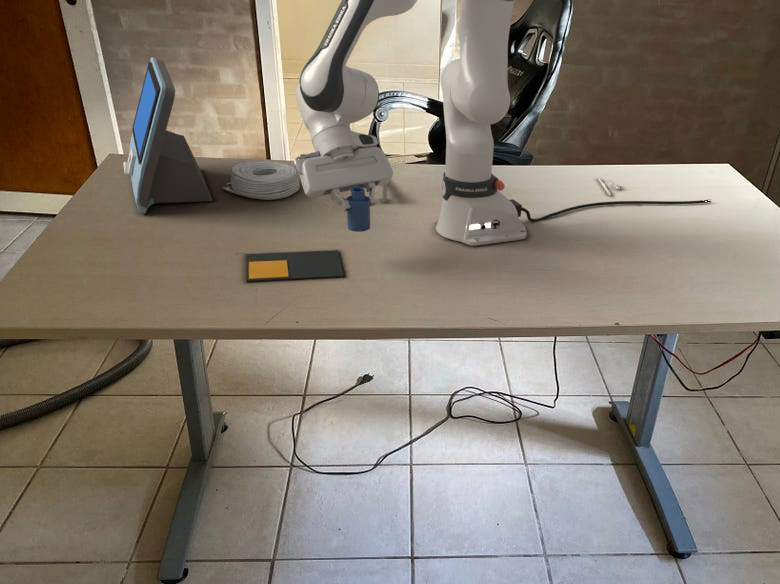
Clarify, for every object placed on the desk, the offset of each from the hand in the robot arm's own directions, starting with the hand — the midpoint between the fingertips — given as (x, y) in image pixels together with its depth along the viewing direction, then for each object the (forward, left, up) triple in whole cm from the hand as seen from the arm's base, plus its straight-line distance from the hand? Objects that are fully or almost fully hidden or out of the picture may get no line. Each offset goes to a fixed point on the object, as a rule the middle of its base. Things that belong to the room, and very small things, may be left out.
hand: (360, 207), depth 156 cm
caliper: (-12, -45, -13) cm, 48 cm away
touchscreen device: (+44, -50, -13) cm, 68 cm away
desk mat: (+14, 0, -13) cm, 19 cm away
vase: (0, -1, -5) cm, 5 cm away
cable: (+19, -47, -13) cm, 53 cm away
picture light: (-79, -42, -13) cm, 90 cm away
